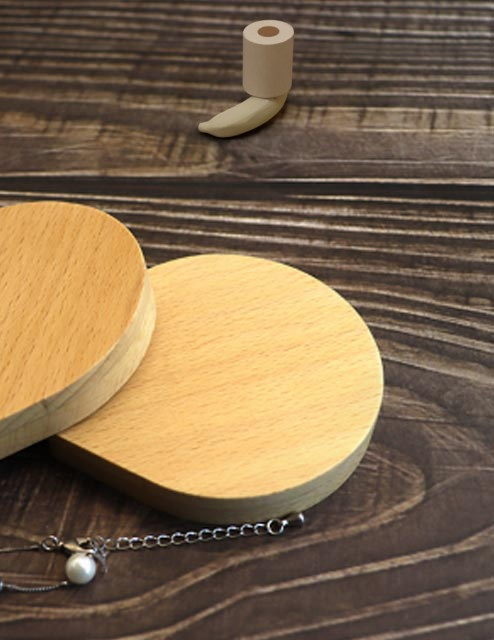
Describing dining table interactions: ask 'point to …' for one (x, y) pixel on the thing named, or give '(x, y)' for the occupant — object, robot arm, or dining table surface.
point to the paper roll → (267, 58)
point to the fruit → (243, 116)
